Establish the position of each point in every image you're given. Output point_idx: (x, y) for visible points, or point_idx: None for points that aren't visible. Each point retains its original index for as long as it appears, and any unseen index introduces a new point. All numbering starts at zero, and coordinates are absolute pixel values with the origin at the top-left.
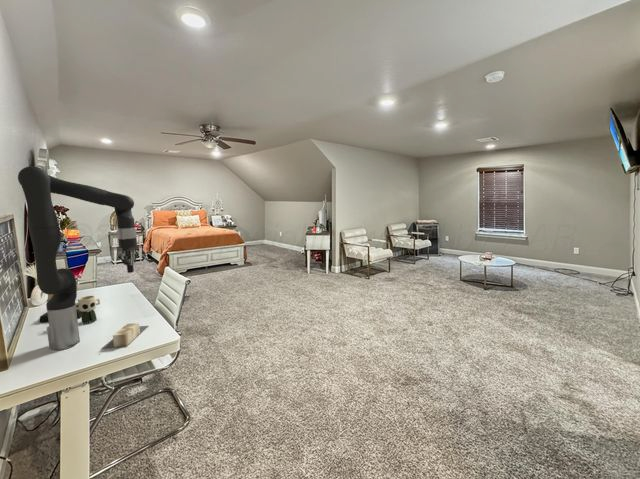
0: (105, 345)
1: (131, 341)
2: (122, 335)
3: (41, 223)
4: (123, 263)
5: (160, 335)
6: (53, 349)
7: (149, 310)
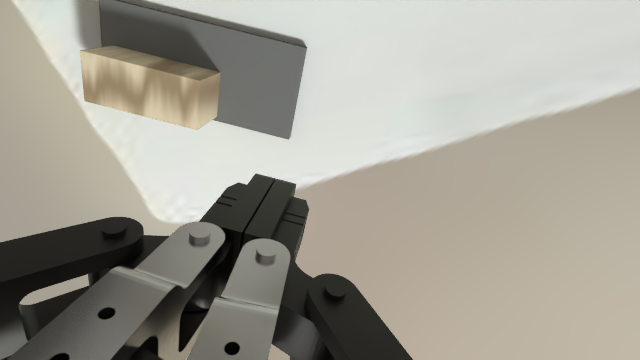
0: (127, 6)
1: None
2: (86, 88)
3: None
4: (69, 230)
5: (199, 182)
6: None
7: (541, 106)
